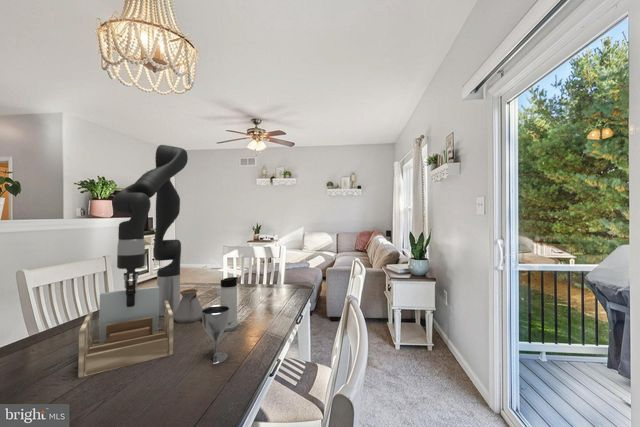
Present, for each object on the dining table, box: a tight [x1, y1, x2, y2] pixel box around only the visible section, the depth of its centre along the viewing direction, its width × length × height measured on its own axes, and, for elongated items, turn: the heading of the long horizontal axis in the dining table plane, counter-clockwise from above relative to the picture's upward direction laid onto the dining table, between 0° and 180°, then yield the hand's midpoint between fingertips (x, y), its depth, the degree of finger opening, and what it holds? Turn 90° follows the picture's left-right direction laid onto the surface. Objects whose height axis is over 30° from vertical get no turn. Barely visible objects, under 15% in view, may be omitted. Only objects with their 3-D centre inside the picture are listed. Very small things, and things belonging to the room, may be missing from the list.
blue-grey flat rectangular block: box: [98, 285, 160, 343], centre depth 91 cm, size 2×16×18 cm, turn 124°
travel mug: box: [219, 276, 239, 332], centre depth 108 cm, size 6×7×20 cm
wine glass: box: [201, 304, 229, 365], centre depth 85 cm, size 8×8×15 cm
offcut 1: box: [106, 317, 153, 344], centre depth 88 cm, size 2×12×9 cm, turn 124°
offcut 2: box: [109, 327, 149, 343], centre depth 85 cm, size 2×10×7 cm, turn 124°
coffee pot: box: [173, 288, 204, 324], centre depth 111 cm, size 21×12×15 cm, turn 33°
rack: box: [77, 301, 174, 378], centre depth 86 cm, size 18×22×14 cm
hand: (130, 305), depth 91 cm, fingers closed on blue-grey flat rectangular block, 1 cm apart
